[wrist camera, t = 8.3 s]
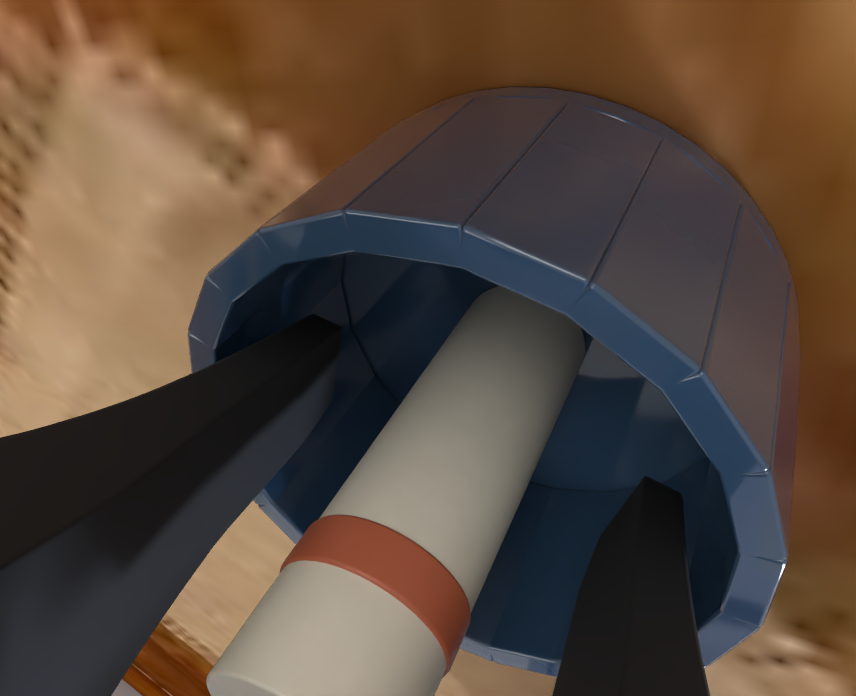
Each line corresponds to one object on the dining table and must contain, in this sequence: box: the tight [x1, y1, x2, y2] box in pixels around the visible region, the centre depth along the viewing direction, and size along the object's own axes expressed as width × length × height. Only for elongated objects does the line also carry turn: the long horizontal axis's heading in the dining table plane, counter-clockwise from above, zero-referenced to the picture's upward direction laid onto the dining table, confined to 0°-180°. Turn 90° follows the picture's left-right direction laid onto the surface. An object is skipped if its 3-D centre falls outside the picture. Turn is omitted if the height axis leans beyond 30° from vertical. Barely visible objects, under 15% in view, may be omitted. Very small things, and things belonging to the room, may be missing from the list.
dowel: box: [207, 286, 585, 696], centre depth 11 cm, size 3×3×8 cm
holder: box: [188, 87, 801, 677], centre depth 13 cm, size 10×10×5 cm
